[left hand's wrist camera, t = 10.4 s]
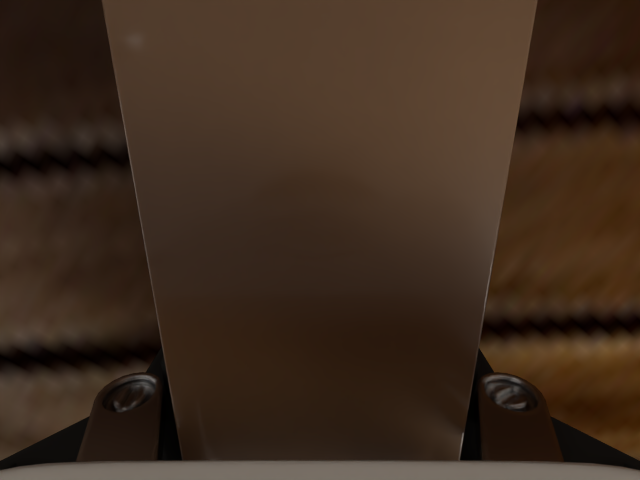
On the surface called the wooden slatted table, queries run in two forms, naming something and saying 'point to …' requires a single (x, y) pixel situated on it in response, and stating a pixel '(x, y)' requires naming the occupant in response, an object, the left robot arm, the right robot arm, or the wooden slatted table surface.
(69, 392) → the wooden slatted table surface
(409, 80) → the beam
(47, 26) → the wooden slatted table surface
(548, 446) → the left robot arm
